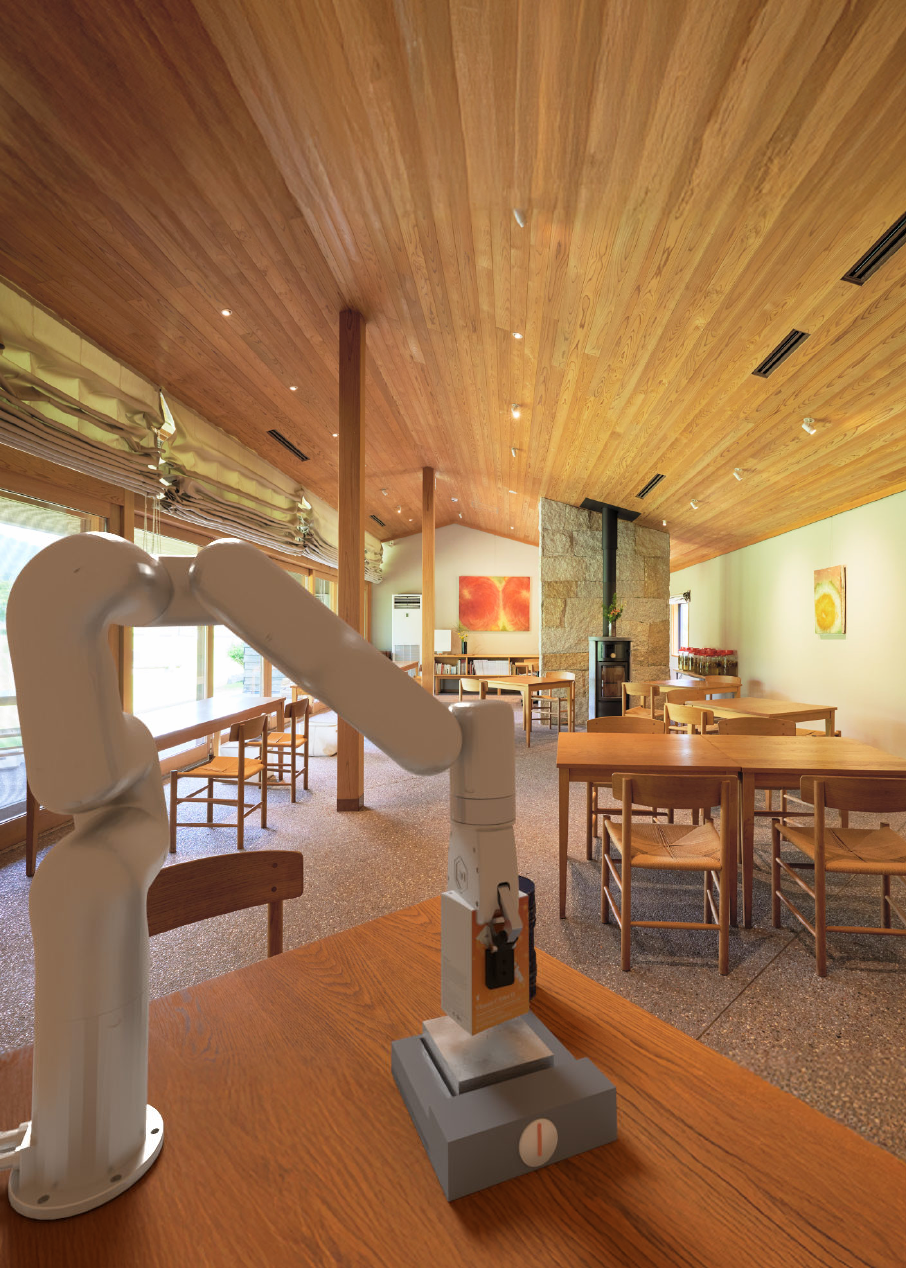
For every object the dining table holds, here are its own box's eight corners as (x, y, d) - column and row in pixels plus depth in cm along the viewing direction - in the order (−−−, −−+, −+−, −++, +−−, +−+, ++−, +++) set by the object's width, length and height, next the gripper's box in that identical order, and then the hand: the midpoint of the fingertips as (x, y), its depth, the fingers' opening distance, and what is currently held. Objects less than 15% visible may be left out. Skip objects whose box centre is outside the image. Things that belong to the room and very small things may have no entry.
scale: (450, 1206, 52) (450, 1146, 52) (391, 1072, 69) (391, 1027, 69) (620, 1143, 58) (619, 1090, 59) (528, 1035, 76) (527, 995, 76)
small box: (472, 1038, 62) (470, 910, 63) (439, 1009, 67) (438, 891, 68) (531, 1013, 66) (529, 893, 67) (496, 987, 72) (495, 877, 72)
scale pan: (458, 1113, 59) (458, 1082, 59) (422, 1047, 69) (422, 1021, 70) (554, 1083, 63) (553, 1054, 64) (506, 1026, 74) (506, 1001, 74)
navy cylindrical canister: (551, 998, 84) (549, 890, 85) (490, 1016, 80) (489, 902, 81) (514, 966, 93) (513, 869, 94) (457, 980, 89) (457, 878, 90)
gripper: (426, 796, 75) (427, 942, 74) (485, 831, 58) (487, 1018, 58) (480, 791, 77) (482, 931, 76) (551, 823, 61) (554, 1001, 60)
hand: (484, 967), depth 67 cm, fingers closed on small box, 7 cm apart
